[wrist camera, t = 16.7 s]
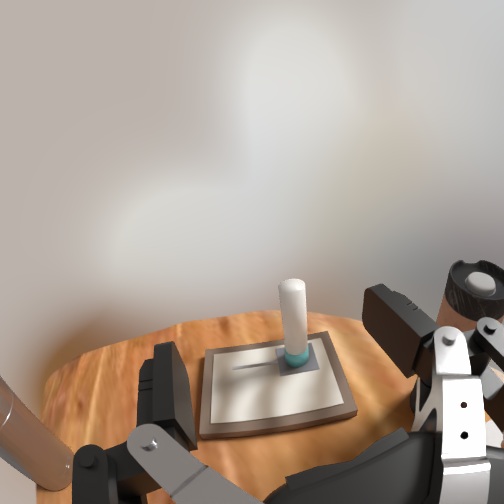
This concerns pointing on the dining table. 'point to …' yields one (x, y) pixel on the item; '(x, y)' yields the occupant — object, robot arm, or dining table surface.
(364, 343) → the dining table surface
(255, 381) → the board
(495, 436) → the white cube
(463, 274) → the travel mug
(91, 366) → the dining table surface
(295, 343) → the cylinder
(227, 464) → the dining table surface
